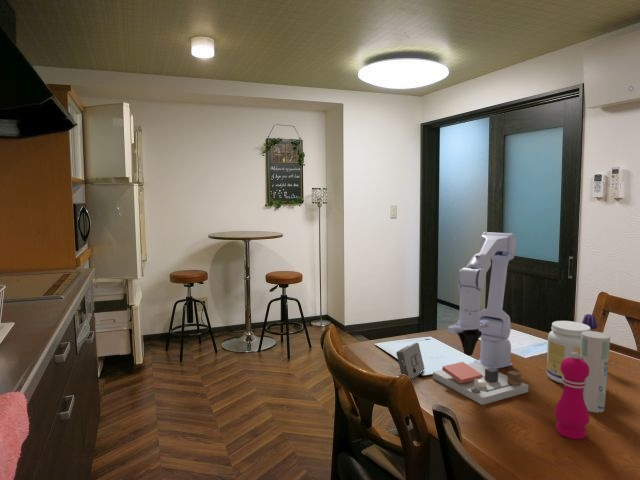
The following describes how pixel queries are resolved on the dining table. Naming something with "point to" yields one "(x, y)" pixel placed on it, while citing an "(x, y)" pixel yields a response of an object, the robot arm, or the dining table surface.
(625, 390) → the dining table surface
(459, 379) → the red rocker
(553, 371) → the supplement tub
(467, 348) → the robot arm
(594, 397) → the spray can
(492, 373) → the black slider
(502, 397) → the console
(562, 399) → the pepper mill
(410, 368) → the electrical switch
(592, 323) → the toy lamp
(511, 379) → the walnut slider
